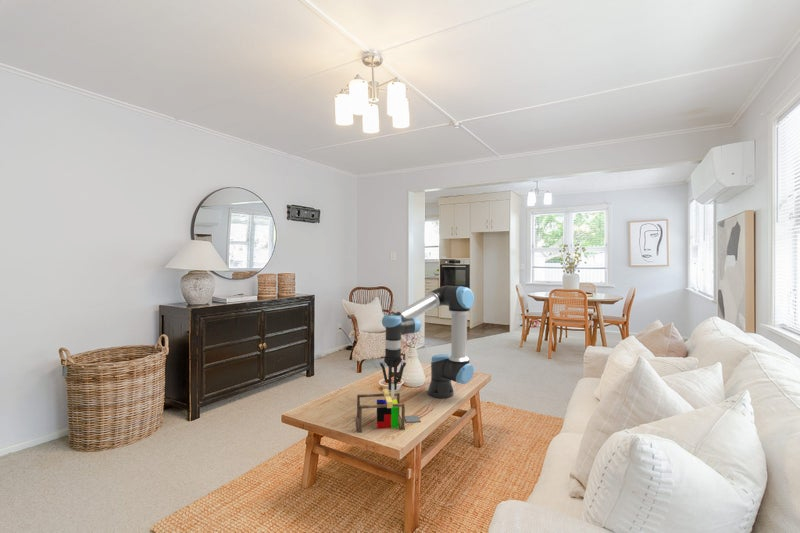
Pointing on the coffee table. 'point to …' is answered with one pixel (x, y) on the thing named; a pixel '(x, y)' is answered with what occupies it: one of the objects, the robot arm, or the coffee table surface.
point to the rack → (359, 408)
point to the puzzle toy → (387, 415)
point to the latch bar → (388, 398)
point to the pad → (412, 419)
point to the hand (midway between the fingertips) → (392, 396)
